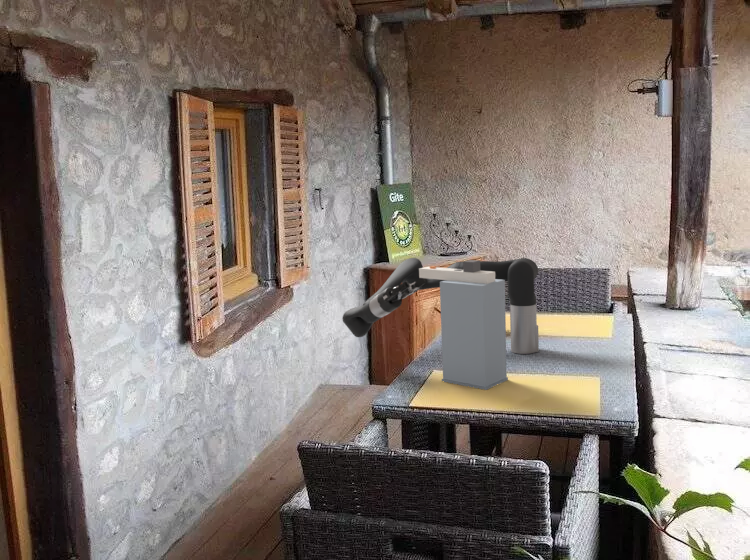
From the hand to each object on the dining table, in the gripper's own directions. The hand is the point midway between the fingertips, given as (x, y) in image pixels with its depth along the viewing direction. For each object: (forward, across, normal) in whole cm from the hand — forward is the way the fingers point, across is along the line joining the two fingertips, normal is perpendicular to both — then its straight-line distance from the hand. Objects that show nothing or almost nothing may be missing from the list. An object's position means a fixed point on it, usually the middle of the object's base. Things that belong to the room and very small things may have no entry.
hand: (416, 281), depth 252 cm
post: (+3, -1, -37) cm, 37 cm away
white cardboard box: (+14, -1, -6) cm, 16 cm away
